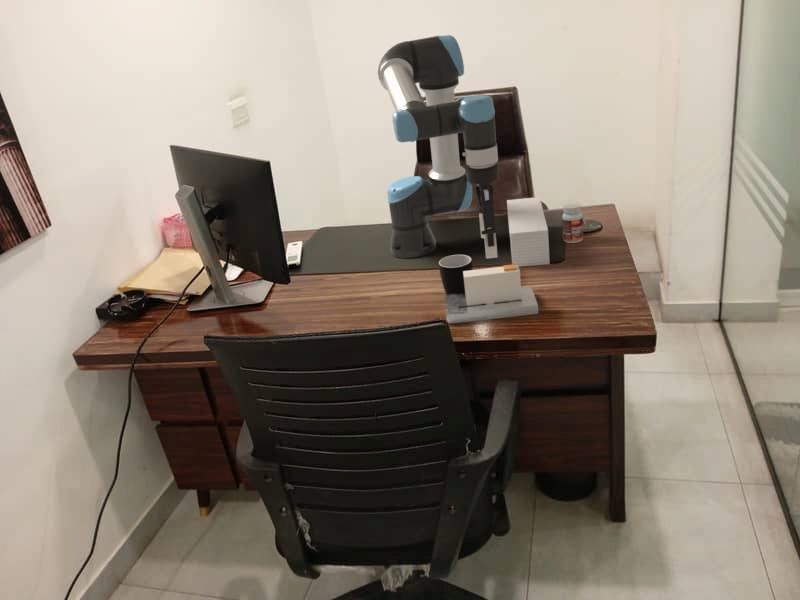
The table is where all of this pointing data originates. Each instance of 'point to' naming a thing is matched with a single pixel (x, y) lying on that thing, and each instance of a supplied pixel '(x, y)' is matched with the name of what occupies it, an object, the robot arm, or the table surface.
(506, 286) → the white block
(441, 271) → the mug
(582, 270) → the table surface
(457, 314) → the rail
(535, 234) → the stack of papers
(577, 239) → the pill bottle
